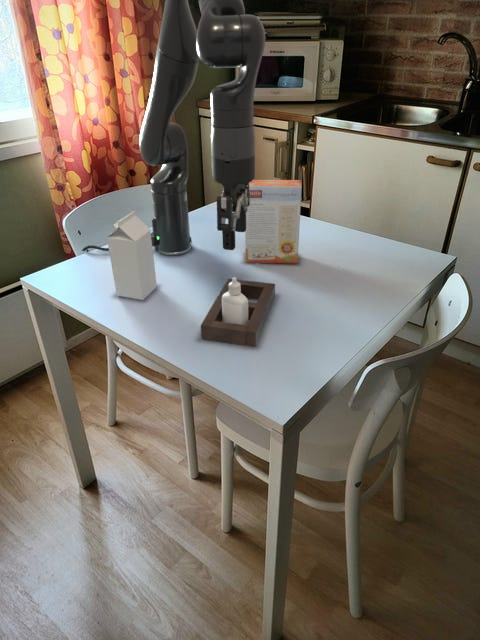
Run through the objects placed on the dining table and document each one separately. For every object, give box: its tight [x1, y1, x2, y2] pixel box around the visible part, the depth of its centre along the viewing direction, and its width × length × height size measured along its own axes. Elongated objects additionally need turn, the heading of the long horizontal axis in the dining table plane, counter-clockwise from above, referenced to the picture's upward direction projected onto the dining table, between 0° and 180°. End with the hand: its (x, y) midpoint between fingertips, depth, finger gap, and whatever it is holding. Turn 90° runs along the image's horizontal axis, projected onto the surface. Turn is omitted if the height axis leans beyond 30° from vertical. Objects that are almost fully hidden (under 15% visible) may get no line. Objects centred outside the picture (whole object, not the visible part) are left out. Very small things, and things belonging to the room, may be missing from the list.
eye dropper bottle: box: [222, 276, 249, 326], centre depth 99 cm, size 4×6×12 cm
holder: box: [200, 278, 276, 348], centre depth 105 cm, size 11×21×4 cm, turn 166°
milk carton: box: [106, 210, 158, 301], centre depth 111 cm, size 7×7×19 cm
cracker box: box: [244, 179, 303, 265], centre depth 124 cm, size 14×6×21 cm, turn 84°
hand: (235, 239), depth 91 cm, fingers open, 8 cm apart
